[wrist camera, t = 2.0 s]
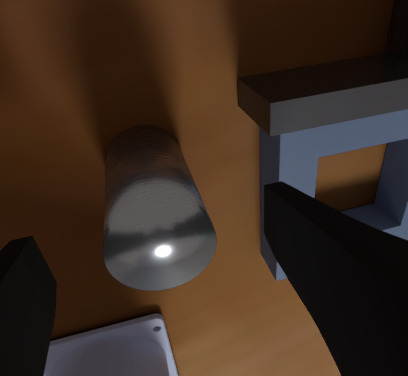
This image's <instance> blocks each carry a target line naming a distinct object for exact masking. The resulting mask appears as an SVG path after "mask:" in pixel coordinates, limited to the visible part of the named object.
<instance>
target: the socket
mask: <svg viewBox="0 0 408 376" xmlns="http://www.w3.org/2000/svg"><path fill="white" fill-rule="evenodd" d="M384 143H388V144H387V148H386V152H385V157H384V161H383V166H382V170H381V175H380V179H379V184H378V188H377V193H376V197H375V201H374V204H370V205H366V206H361V207H357V208H353V209H349V210H345V211H341V212H342V213H344V214H346V215H348V216H350V217H352V218H354V219H356V220H359V221H361V222H363V223H365V224H367V225H370V226H372V227H374V228H377V229H379V230H382V231H384V232H387V233H389V234H392V235H395V236H397V237H400V238H403V239H405V240H408V109H406V110H401V111H396V112H391V113H386V114H381V115H376V116H371V117H366V118H361V119H356V120H351V121H346V122H341V123H336V124H331V125H326V126H320V127H315V128H310V129H305V130H300V131H295V132H290V133H285V134H280V135H275V136H269V135H268V134H267V133H266V132H265V131H264V130H263V129H262V128H261V127H260V182H261V255H262V256H263V258H264V260H265V262H266V264H267V265H268V267H269V269H270V271H271V273H272V274H273V276H274V278H275V280H276V281H278V280H282V279H286V278H287V277H286V275H285V273H284V272H283V270H282V269H281V267H280V265H279V264H278V262H277V260H276V259H275V257H274V255H273V252H272V250H271V248H270V246H269V244H268V241H267V239H266V237H265V235H264V185H266V184H271V183H275V182H280V181H282V182H284V183H286V184H288V185H290V186H292V187H294V188H296V189H298V190H300V191H302V192H303V193H305V194H307V195H309V196H311V197H313V198H314V197H315V187H316V178H317V168H318V158H319V157H323V156H328V155H333V154H337V153H342V152H347V151H351V150H356V149H361V148H365V147H370V146H375V145H380V144H384Z"/></svg>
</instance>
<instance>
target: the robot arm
mask: <svg viewBox="0 0 408 376" xmlns="http://www.w3.org/2000/svg"><path fill="white" fill-rule="evenodd" d="M264 235H265V237H266V239H267V241H268V244H269V246H270V248H271V250H272V252H273V255H274V257H275V259H276V260H277V262H278V264H279V265H280V267H281V269H282V270H283V272H284V273H285V275H286V277H287V278H288V280H289V281H290V283H291V284H292V286H293V288H294V289H295V291H296V292H297V294H298V296H299V297H300V299H301V300H302V302H303V303H304V305H305V307H306V308H307V310H308V311H309V313H310V315H311V316H312V318H313V320H314V322H315V323H316V325H317V327H318V329H319V331H320V333H321V335H322V337H323V339H324V341H325V343H326V345H327V347H328V349H329V351H330V353H331V355H332V357H333V359H334V361H335V363H336V365H337V367H338V369H339V371H340V373H341V375H342V376H408V240H405V239H403V238H400V237H397V236H395V235H392V234H389V233H387V232H384V231H382V230H379V229H377V228H374V227H372V226H370V225H367V224H365V223H363V222H361V221H359V220H356V219H354V218H352V217H350V216H348V215H346V214H344V213H342V212H339V211H337V210H335V209H334V208H332V207H330V206H328V205H326V204H324V203H322V202H320V201H318V200H316V199H314V198H313V197H311V196H309V195H307V194H305V193H303V192H302V191H300V190H298V189H296V188H294V187H292V186H290V185H288V184H286V183H284V182H282V181H280V182H275V183H271V184H266V185H264ZM56 285H57V283H56V281H55V279H54V277H53V275H52V273H51V271H50V269H49V267H48V265H47V263H46V261H45V259H44V257H43V255H42V253H41V251H40V249H39V248H38V246H37V244H36V242H35V240H34V238H33V236H29V237H24V238H20V239H15V240H11V241H10V242H9V243H8V244H7V245H6V246H5V247H4V248H3V249H2V250H1V251H0V376H179V375H178V371H177V367H176V364H175V360H174V356H173V353H172V349H171V345H170V341H169V338H168V334H167V330H166V327H165V323H164V319H163V316H162V315H160V314H151V315H147V316H144V317H140V318H136V319H132V320H129V321H125V322H121V323H117V324H114V325H110V326H106V327H102V328H98V329H95V330H91V331H87V332H83V333H80V334H76V335H72V336H68V337H65V338H61V339H57V340H53V341H50V340H51V334H52V329H53V324H54V318H55V308H56Z"/></svg>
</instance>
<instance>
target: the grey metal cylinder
mask: <svg viewBox="0 0 408 376" xmlns="http://www.w3.org/2000/svg"><path fill="white" fill-rule="evenodd" d="M216 243H217V239H216V232H215V230H214V227H213V225H212V222H211V220H210V218H209V215H208V213H207V210H206V208H205V206H204V203H203V201H202V199H201V196H200V194H199V192H198V189H197V187H196V184H195V182H194V180H193V177H192V175H191V173H190V170H189V168H188V166H187V163H186V161H185V158H184V156H183V154H182V151H181V149H180V147H179V145H178V143H177V141H176V140H175V139H174V138H173V137H172V136H171V135H170V134H169V133H167V132H166V131H164V130H162V129H160V128H157V127H152V126H137V127H133V128H130V129H128V130H126V131H124V132H122V133H121V134H119V135H118V136H117V137H116V138H115V139H114V140H113V141H112V143H111V144H110V146H109V148H108V150H107V154H106V168H105V203H104V238H103V258H104V262H105V265H106V267H107V269H108V271H109V272H110V274H111V275H112V276H113V277H114V278H115V279H117V280H118V281H119V282H121V283H123V284H124V285H126V286H129V287H132V288H135V289H140V290H148V291H157V290H165V289H170V288H173V287H177V286H179V285H182V284H184V283H186V282H188V281H190V280H191V279H193V278H194V277H196V276H197V275H198V274H200V273H201V272H202V271H203V270H204V269H205V268H206V266H207V265H208V264H209V263H210V261H211V259H212V257H213V255H214V253H215V249H216Z"/></svg>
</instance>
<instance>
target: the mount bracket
mask: <svg viewBox="0 0 408 376" xmlns="http://www.w3.org/2000/svg"><path fill="white" fill-rule="evenodd" d="M237 83H238V106H239V107H240V108H241V109H242V110H243V111H244V112H245V113H246V114H247V115H248V116H249V117H250V118H251V119H252V120H254V121H255V122H256V123H257V124H258V125H259V126H260V127H261V128H262V129H263V130H264V131H265V132H266V133H267V134H268V135H269V136H275V135H280V134H285V133H290V132H295V131H300V130H305V129H310V128H315V127H320V126H326V125H331V124H336V123H341V122H346V121H351V120H356V119H361V118H366V117H371V116H376V115H381V114H386V113H391V112H396V111H401V110H406V109H408V0H395V4H394V10H393V15H392V20H391V26H390V31H389V36H388V41H387V47H386V52H385V54H379V55H373V56H367V57H361V58H355V59H349V60H343V61H337V62H331V63H325V64H320V65H314V66H308V67H302V68H296V69H290V70H284V71H278V72H272V73H266V74H260V75H255V76H249V77H243V78H237Z"/></svg>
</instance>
